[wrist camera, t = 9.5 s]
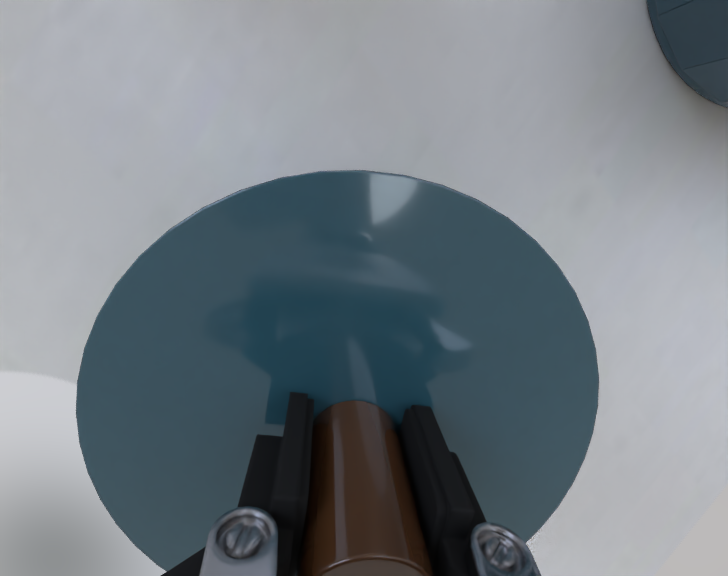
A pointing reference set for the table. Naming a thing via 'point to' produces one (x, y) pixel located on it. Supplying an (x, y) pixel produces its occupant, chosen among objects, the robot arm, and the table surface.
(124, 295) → the lid
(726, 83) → the pot
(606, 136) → the table surface
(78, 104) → the table surface
